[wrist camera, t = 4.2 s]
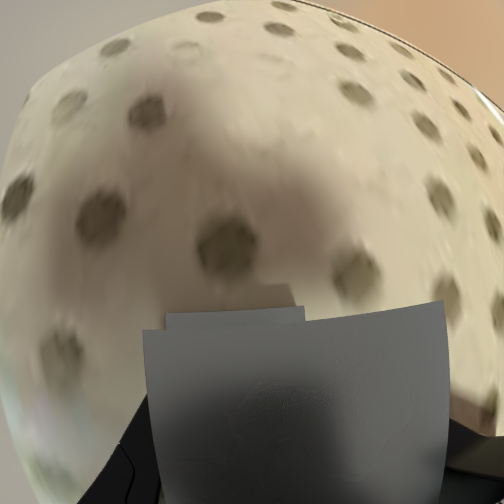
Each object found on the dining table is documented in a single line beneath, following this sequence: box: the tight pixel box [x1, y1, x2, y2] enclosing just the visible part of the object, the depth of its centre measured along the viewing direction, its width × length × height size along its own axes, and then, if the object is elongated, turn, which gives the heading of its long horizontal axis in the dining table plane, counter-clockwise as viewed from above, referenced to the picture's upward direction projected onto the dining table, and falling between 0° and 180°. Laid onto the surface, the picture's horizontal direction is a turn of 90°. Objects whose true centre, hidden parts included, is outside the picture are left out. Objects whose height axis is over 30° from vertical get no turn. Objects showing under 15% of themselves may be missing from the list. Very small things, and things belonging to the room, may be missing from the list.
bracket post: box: [143, 300, 450, 504], centre depth 9 cm, size 7×7×12 cm
